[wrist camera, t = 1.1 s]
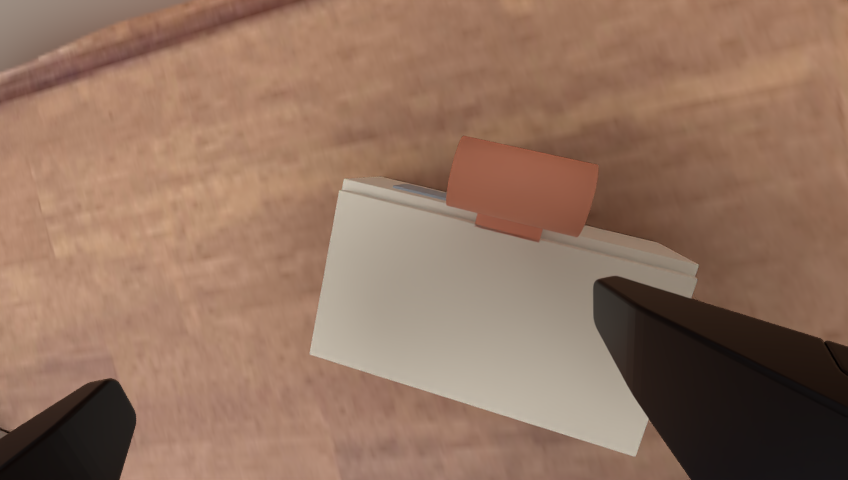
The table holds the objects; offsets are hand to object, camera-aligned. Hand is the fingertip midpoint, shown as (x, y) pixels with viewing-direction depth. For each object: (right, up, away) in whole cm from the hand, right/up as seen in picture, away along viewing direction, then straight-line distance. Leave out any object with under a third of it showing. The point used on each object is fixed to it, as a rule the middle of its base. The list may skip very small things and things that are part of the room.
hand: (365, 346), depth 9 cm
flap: (+4, 0, +9) cm, 10 cm away
